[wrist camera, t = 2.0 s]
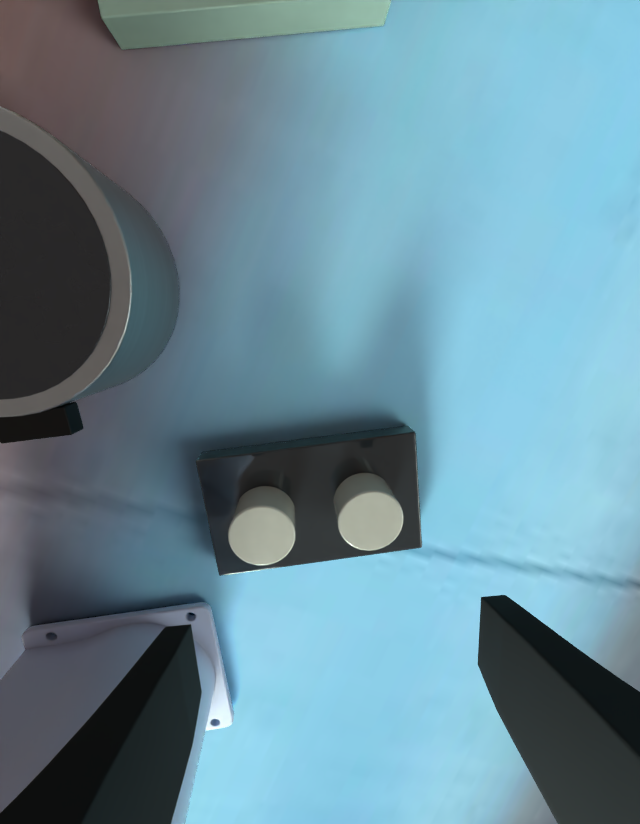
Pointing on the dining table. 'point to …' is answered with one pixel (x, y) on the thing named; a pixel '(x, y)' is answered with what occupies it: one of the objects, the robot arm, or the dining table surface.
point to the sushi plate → (312, 499)
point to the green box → (231, 19)
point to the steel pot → (72, 284)
